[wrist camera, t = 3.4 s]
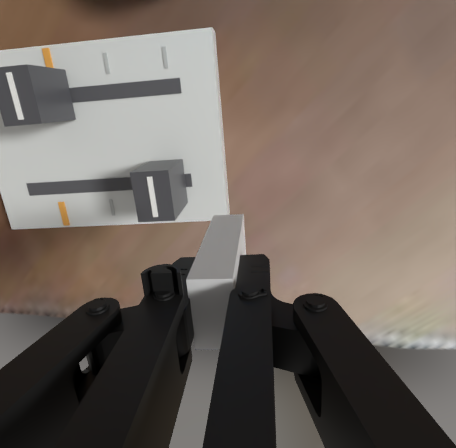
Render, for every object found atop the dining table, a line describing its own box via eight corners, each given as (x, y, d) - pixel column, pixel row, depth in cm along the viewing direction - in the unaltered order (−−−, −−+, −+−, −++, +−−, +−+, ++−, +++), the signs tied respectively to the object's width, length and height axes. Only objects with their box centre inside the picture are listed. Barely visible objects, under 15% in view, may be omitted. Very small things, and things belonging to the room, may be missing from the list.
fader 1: (31, 72, 29) (-14, 68, 24) (65, 69, 29) (26, 64, 24) (43, 122, 31) (3, 126, 26) (76, 119, 30) (41, 123, 25)
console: (-24, 57, 32) (-44, 54, 30) (215, 31, 29) (211, 27, 27) (24, 222, 37) (10, 229, 35) (229, 213, 34) (227, 220, 32)
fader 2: (149, 161, 31) (129, 172, 26) (182, 159, 31) (167, 170, 26) (156, 204, 32) (137, 222, 27) (187, 202, 32) (174, 221, 27)
